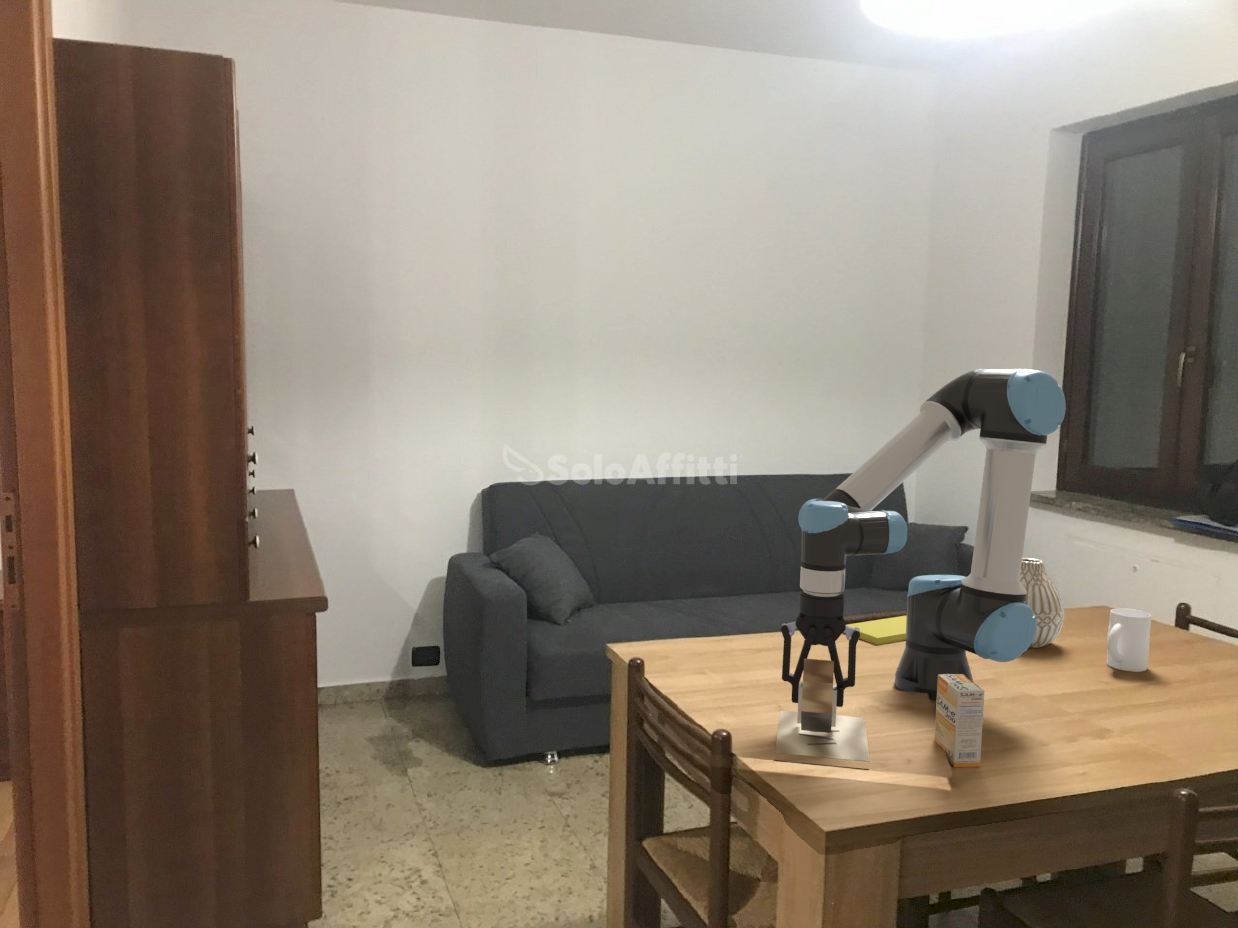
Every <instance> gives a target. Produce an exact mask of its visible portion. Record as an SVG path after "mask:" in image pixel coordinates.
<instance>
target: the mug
mask: <svg viewBox="0 0 1238 928" xmlns="http://www.w3.org/2000/svg"><path fill="white" fill-rule="evenodd" d="M1151 625H1152V615H1151V613H1149V612H1146V611H1144V610H1139V609H1134V608H1127V607H1126V608H1124V607H1123V608H1121V607H1120V608H1112V609H1110V612H1109V625H1108V627H1107V630H1108V632H1107V634H1106V635H1107V637H1106V638H1107V643H1106V650H1107V652H1106V653H1107V654H1106V664H1107V665H1108V666H1109V667H1111V668H1113V669H1115V670H1116V669H1117V670H1119V671H1124V672H1125V671H1126V672H1134V673H1135V672H1136V673H1139V672H1146V671H1148V667H1149V666H1148V665H1149V655H1150V654H1149V653H1150V640H1151V639H1150V637H1151V628H1152V627H1151Z"/></svg>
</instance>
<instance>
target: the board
mask: <svg viewBox="0 0 1238 928" xmlns="http://www.w3.org/2000/svg"><path fill="white" fill-rule="evenodd" d="M797 717H798V711H793V710H792V711H791V710H780V712H779V719H778V726H777V728H778V729H777V736H776V742H775V743H776V744H775V749H774V753H775V754H786V755H796V756H797V755H798V756H807V757H809V756H810V757H818V758H828V759H837V760H838V759H839V760H847V761H857V762H870V754H869V745H868V737H867V735H868V734H867V727H866V718H865V717H862V716H861V717H859V716H849V715H837V714H836V725H835V727H832V726H831V733H825V732H815V731H805V730H801V723H797ZM774 762H781V763H792V764H800V765H801V764H802V765H812V766H821V767H832V768H841V769H851V770H862V771H863V770H864V771H870V769H869V768H863V767H861V768H859V767H852V766H843V765H841V766H840V765H832V764H823V763H822V764H820V763H811V762H800V761H791V760H782V759H781V760H779V759H774Z"/></svg>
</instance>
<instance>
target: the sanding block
mask: <svg viewBox="0 0 1238 928" xmlns="http://www.w3.org/2000/svg"><path fill="white" fill-rule="evenodd" d="M802 682H803V689H802V708H801V730H805V731H815V732H825V733H831V724H832V703H833V685H834V661H831V660H827V659H826V660H825V659H813V658H807V659H804V670H803V673H802Z"/></svg>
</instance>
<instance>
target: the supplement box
mask: <svg viewBox="0 0 1238 928" xmlns="http://www.w3.org/2000/svg"><path fill="white" fill-rule="evenodd" d="M984 705H985V690H984V689H983V688H981V687H980V686H979V685H977V684H976V683H975V682H974V681H973V682H972V681H971V680H970V679H968V678H967V677H966V676H965V675H963V674H940V675H938V684H937V699H936V707H935V708H936V709H935V724H934V725H935V726H934V727H935V728H934V741H935V742H936V743H937V744H938V745H939V746H940V747H941V748H942V749H943V750H944V751H945V755H946V758H947V761H948V762H949V763H950V765H952V767H954V768H967V767H968V768H970V767H971V768H975V767H980V766H981V756H982V755H981V753H982V739H983V737H982V735H983V724H984V723H983V721H984V720H983V719H984Z"/></svg>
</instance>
